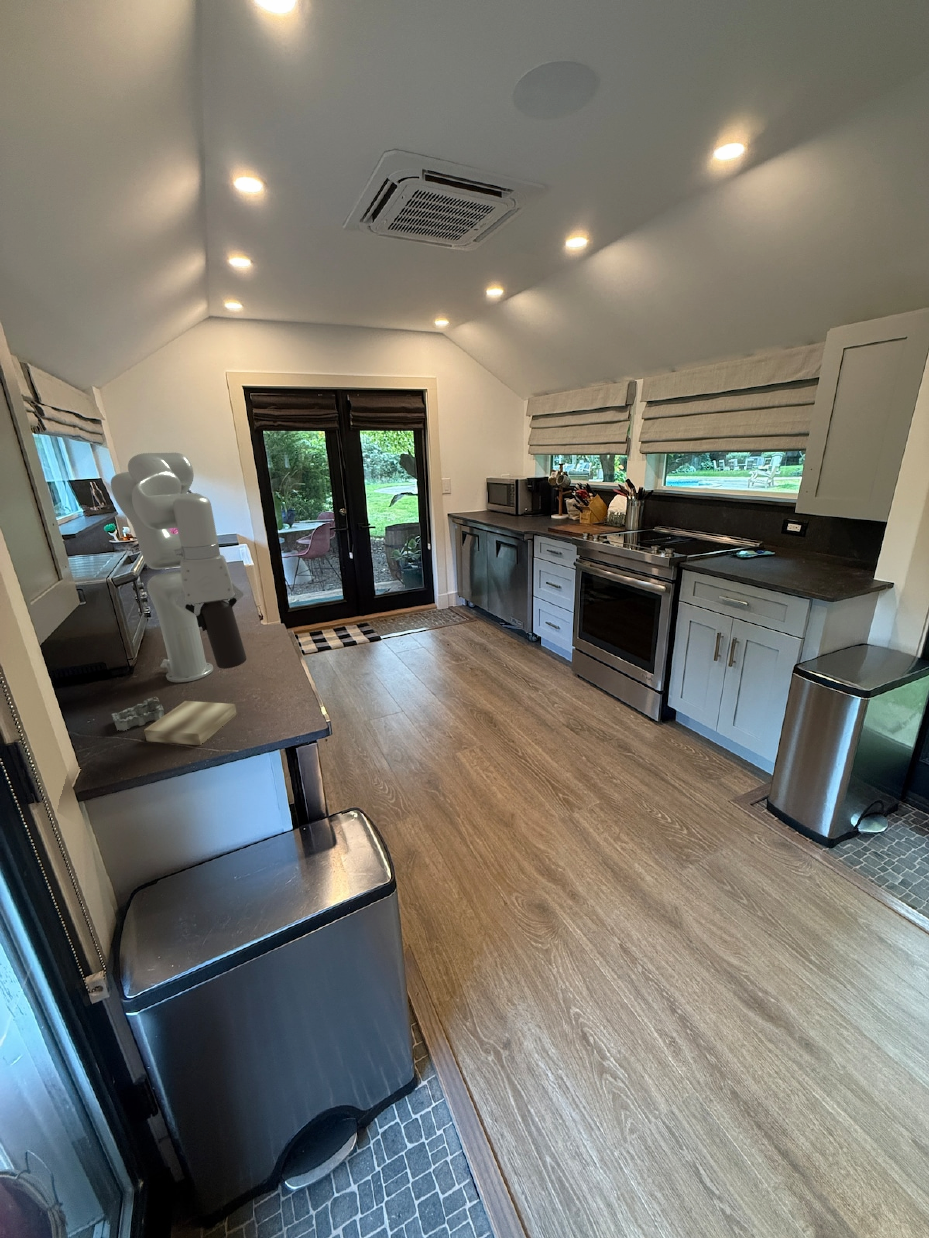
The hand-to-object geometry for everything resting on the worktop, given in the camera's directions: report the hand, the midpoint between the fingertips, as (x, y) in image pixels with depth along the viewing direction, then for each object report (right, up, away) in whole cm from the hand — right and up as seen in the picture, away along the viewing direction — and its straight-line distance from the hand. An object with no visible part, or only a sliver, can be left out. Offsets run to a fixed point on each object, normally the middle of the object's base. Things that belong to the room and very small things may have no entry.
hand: (216, 626), depth 117 cm
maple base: (-7, -25, +3) cm, 26 cm away
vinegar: (+2, -9, +4) cm, 10 cm away
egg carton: (-22, -24, +7) cm, 34 cm away
